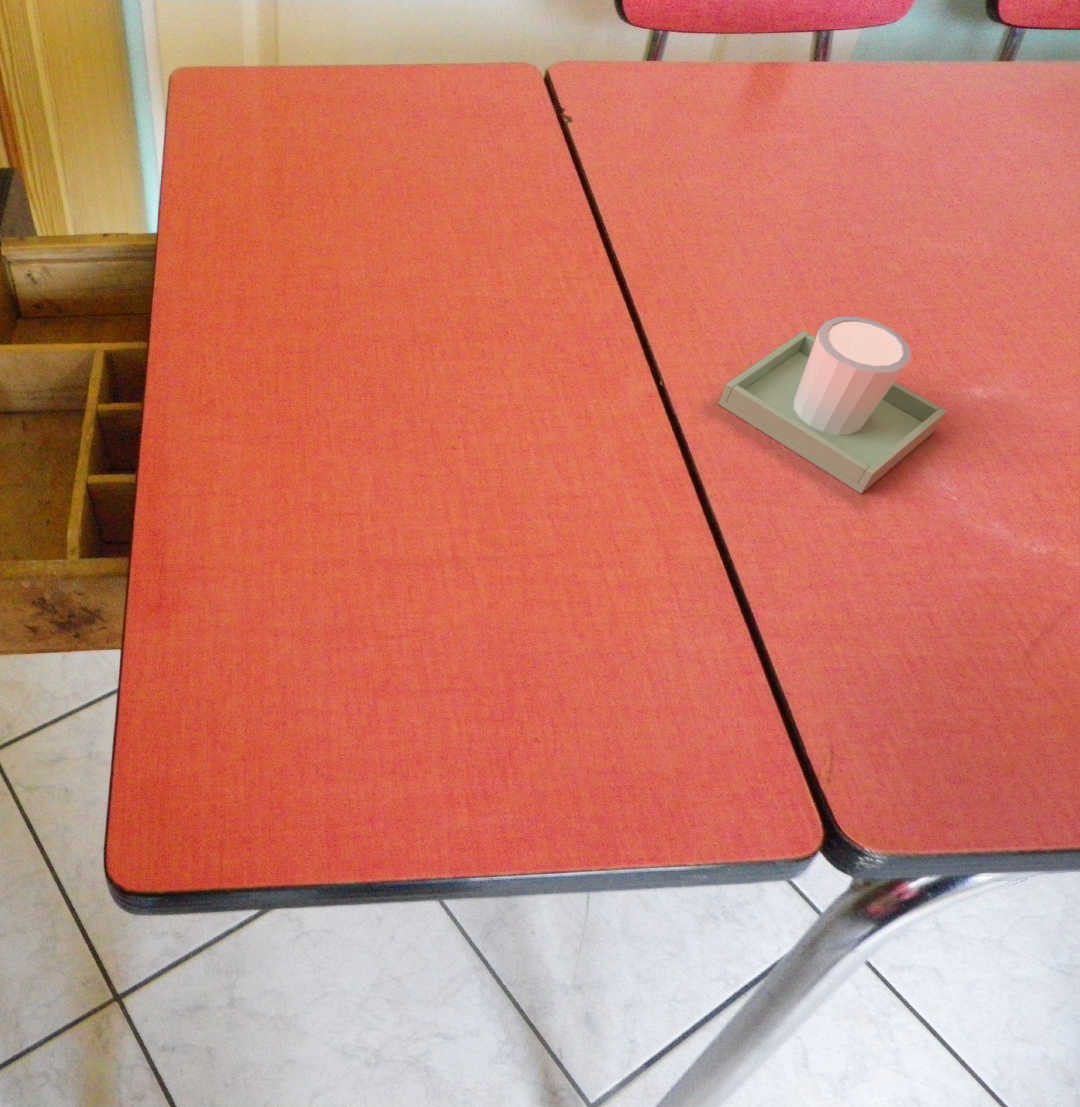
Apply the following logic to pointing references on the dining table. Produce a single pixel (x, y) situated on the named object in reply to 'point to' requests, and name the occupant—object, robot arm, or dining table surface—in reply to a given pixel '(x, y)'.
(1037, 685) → the dining table surface
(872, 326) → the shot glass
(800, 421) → the green tray
